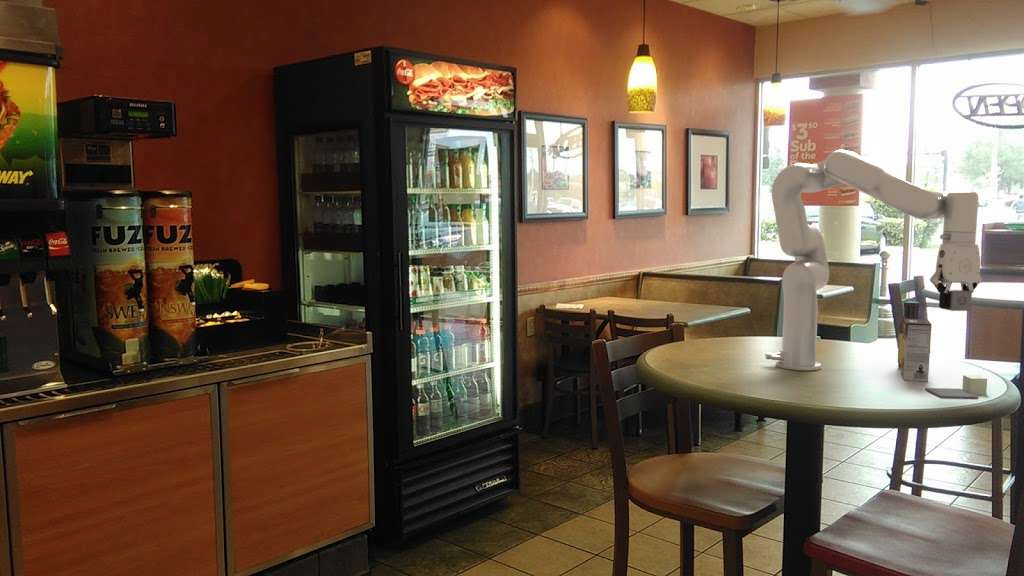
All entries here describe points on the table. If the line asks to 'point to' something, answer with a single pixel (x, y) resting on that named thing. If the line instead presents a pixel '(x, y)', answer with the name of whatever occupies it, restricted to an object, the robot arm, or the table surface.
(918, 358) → the coffee box
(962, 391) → the black mat
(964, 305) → the grey cube
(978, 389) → the sage block
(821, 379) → the table surface
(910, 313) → the sauce bottle
